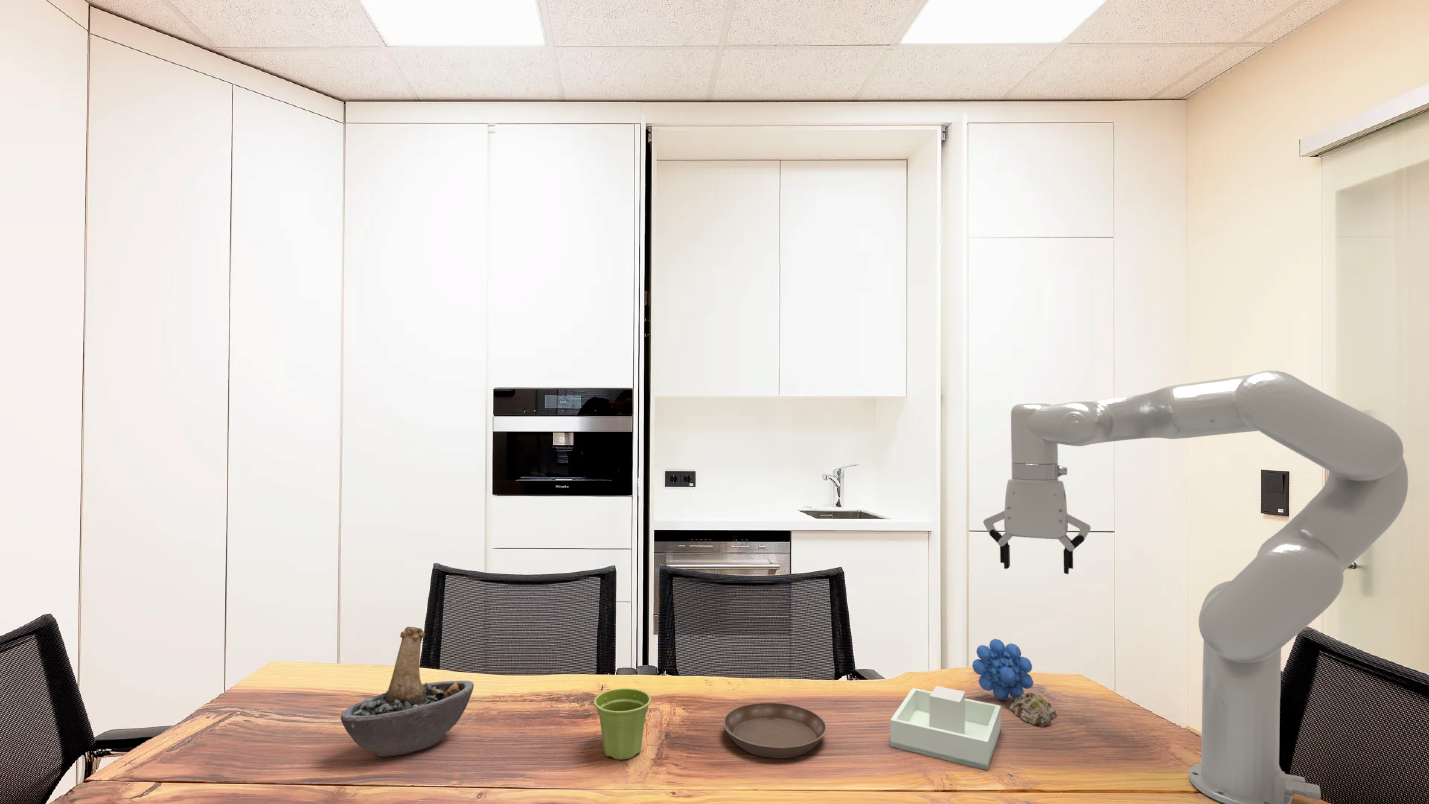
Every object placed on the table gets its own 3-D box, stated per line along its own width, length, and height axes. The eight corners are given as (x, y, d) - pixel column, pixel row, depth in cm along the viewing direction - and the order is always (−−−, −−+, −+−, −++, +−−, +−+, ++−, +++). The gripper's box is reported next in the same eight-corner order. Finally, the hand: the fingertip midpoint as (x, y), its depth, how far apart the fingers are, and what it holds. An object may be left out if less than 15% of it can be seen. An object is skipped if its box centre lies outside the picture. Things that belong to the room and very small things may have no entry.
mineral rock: (1003, 690, 141) (1045, 683, 139) (1009, 711, 141) (1051, 705, 139) (1013, 715, 131) (1059, 708, 129) (1020, 739, 130) (1066, 732, 129)
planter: (477, 732, 125) (479, 618, 125) (413, 781, 109) (414, 650, 109) (406, 721, 129) (407, 610, 129) (333, 766, 113) (334, 640, 113)
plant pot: (596, 769, 113) (597, 714, 113) (590, 741, 123) (591, 690, 122) (655, 761, 116) (655, 708, 116) (645, 735, 125) (645, 685, 125)
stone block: (964, 731, 126) (965, 691, 126) (959, 743, 122) (959, 702, 122) (935, 724, 128) (936, 685, 128) (929, 736, 124) (929, 695, 124)
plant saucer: (753, 709, 137) (753, 693, 137) (841, 732, 127) (841, 715, 127) (704, 747, 121) (704, 729, 121) (800, 777, 112) (800, 757, 112)
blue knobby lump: (978, 708, 137) (979, 645, 137) (968, 693, 144) (969, 634, 144) (1041, 710, 137) (1041, 648, 136) (1028, 696, 143) (1029, 636, 143)
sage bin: (1000, 731, 128) (1000, 705, 128) (987, 770, 114) (987, 742, 114) (912, 711, 136) (912, 687, 136) (890, 746, 122) (890, 719, 122)
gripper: (1089, 472, 127) (1091, 570, 126) (985, 470, 135) (987, 561, 134) (1089, 476, 120) (1091, 579, 120) (980, 473, 128) (981, 569, 128)
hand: (1036, 569), depth 127 cm, fingers open, 9 cm apart
